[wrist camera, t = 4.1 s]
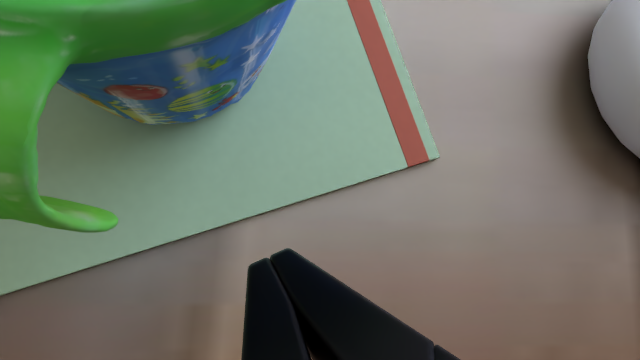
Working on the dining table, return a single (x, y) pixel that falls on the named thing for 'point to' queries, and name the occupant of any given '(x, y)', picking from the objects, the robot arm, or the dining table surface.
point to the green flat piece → (227, 146)
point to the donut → (618, 70)
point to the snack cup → (119, 76)
